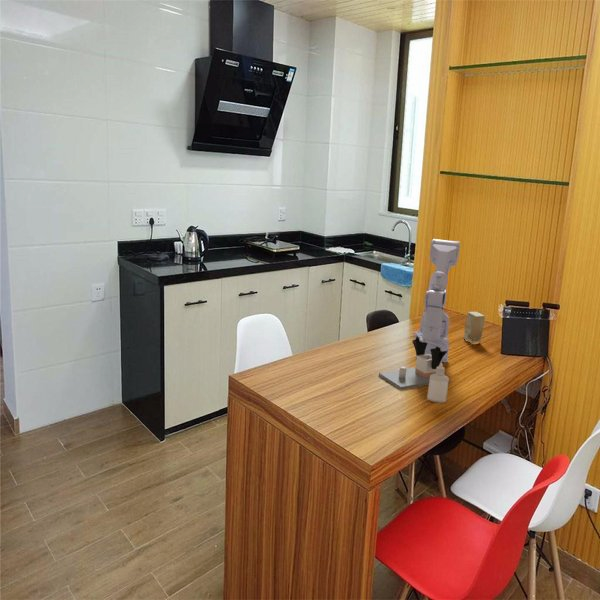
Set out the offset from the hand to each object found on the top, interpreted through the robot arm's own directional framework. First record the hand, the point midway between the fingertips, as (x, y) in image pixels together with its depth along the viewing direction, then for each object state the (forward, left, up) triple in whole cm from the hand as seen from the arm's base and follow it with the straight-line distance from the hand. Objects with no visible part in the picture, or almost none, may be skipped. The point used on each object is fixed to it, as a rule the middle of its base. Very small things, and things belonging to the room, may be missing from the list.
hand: (427, 364), depth 181 cm
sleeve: (0, 0, -3) cm, 3 cm away
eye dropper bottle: (+9, +16, -5) cm, 19 cm away
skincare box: (-43, -23, -5) cm, 49 cm away
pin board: (+5, 0, -4) cm, 7 cm away
